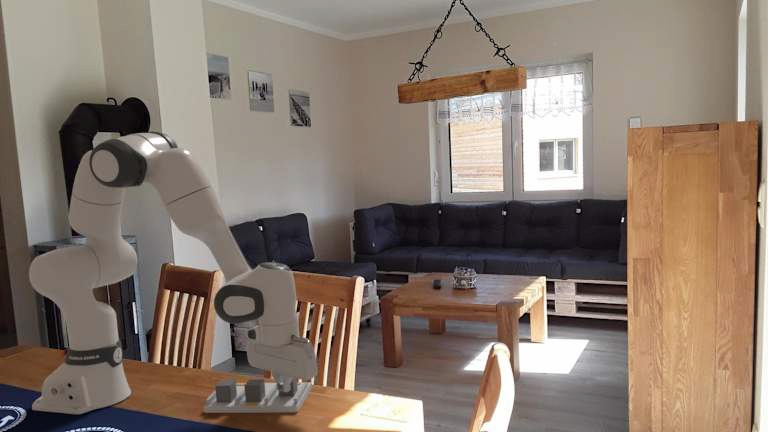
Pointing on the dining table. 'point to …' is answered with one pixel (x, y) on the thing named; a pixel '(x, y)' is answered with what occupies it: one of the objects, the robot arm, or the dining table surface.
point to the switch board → (268, 404)
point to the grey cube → (293, 388)
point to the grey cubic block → (255, 390)
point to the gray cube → (226, 391)
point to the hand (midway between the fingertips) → (283, 390)
